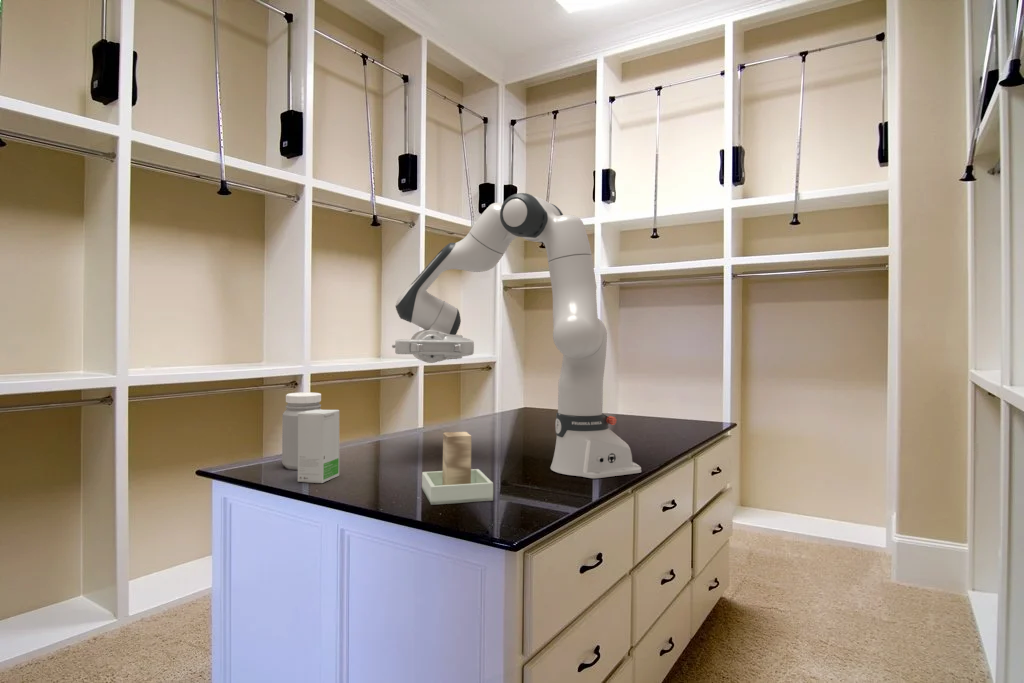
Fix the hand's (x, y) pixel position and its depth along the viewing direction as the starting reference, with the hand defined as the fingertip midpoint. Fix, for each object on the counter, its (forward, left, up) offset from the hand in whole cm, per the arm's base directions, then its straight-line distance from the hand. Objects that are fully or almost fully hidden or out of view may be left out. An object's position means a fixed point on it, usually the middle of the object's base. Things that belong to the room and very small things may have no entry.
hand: (439, 347), depth 144 cm
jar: (+32, -11, -30) cm, 45 cm away
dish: (0, +23, -30) cm, 38 cm away
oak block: (0, +23, -29) cm, 37 cm away
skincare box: (+28, +3, -30) cm, 41 cm away
